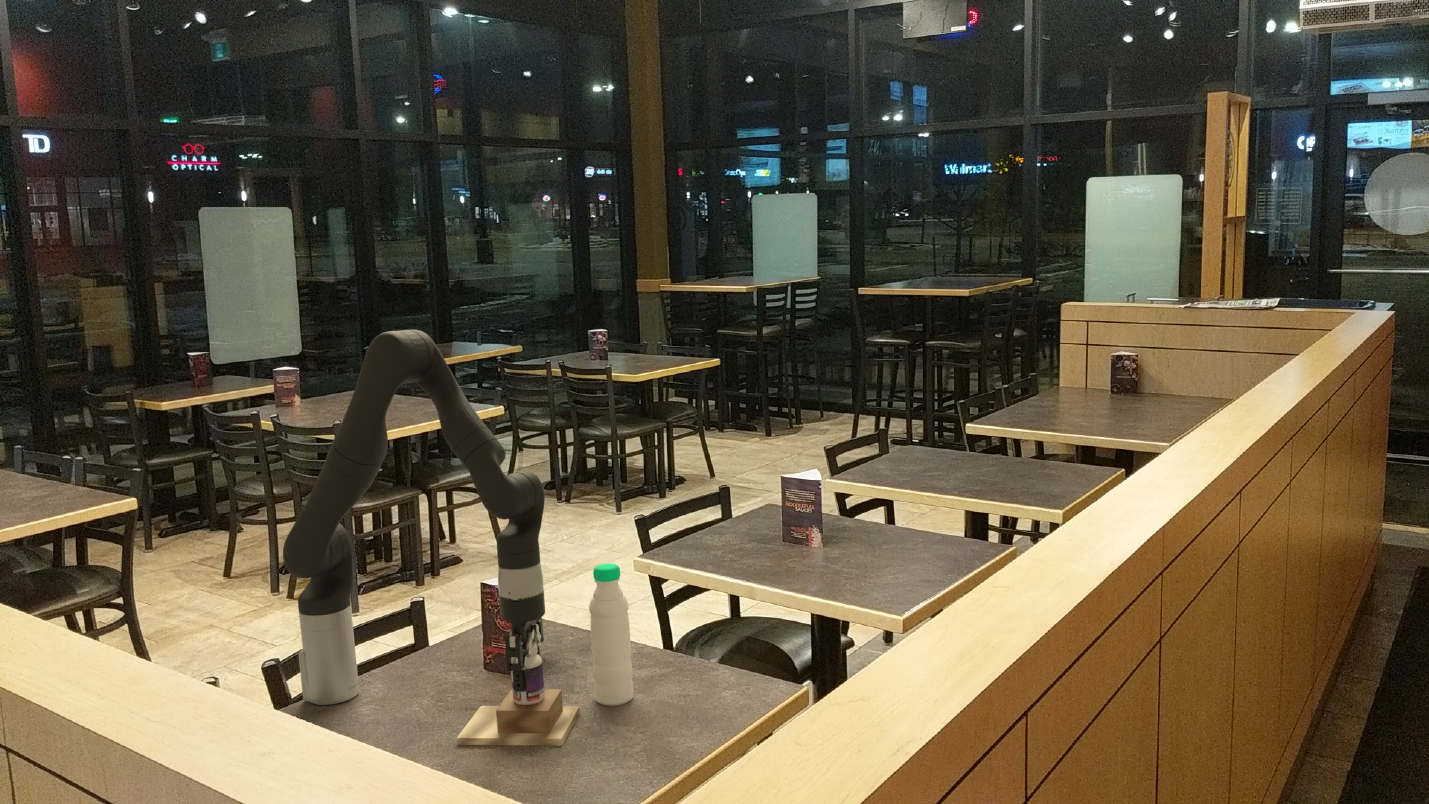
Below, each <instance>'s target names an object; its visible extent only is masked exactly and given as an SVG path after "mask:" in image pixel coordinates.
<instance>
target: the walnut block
mask: <svg viewBox="0 0 1429 804" xmlns="http://www.w3.org/2000/svg"><path fill="white" fill-rule="evenodd" d="M544 690H545V697H544V699H543V700H542V701H541V702H539V703H536V704H532V705H519V704H517V703H515V702H514V700H513V690H512V689H510V691H509V692H508V694H507V695H506V696H505V697H504V699H503V700H502V702H501V703H500V705H498V706H499V707H498V708H497V710H496V717H497V730H498V733H550V732H551V730H552V729H553V727H554V725H555V724H556V722H557V720H558V719H559V717H560V715H561V713H562V712H563V694H562V689H560V688H559V689H558V688H557V689H553V688H552V689H551V688H544Z"/></svg>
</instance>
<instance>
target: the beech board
mask: <svg viewBox="0 0 1429 804" xmlns="http://www.w3.org/2000/svg"><path fill="white" fill-rule="evenodd" d="M499 706H500V705H480V707H479V708H478V709H477V711H476V712H475V713H474V714H473V716H472V717H471V718H470V720H469V721H468V722H467V724H465V726H464V728H463V729H462V730H461V731H460V732H459V734H458V735H457V737H456V745H458V746H461V745H462V746H464V745H465V746H467V745H469V746H545V747H546V746H549V747H550V746H551V747H552V746H553V747H554V746H559V747H560V746H563V745H564V742H565V741H566V739H567V737H568V735H569V733H570V731H571V730H572V728H573V726H574V724H575V723H576V721H577V719H578V717H579V715H580V714H581V710H580V706H579V705H578V706H577V705H575V706H573V705H572V706H570V705H569V706H567V705H566V706H563V712H562V713H561V715H560V717H559V719H558V720H557V722H556V724H555V725H554V727H553V729H552V730H551V732H550V733H498V730H497V717H496V710H497V708H498V707H499Z"/></svg>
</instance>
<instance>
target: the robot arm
mask: <svg viewBox="0 0 1429 804" xmlns="http://www.w3.org/2000/svg"><path fill="white" fill-rule="evenodd" d="M362 361H363V362H362V365H361V368H360V372H359V375H358V378H357V380H356V385H355V387H354V391H353V394H352V397H351V399H350V402H349V404H348V406H347V409H346V411H345V414H344V416H343V419H342V421H341V424H340V425H339V428H338V430H337V432H336V434H335V436H334V439H333V440H332V444H331V446H330V447H329V451H328V452H327V454H326V457H325V460H324V463H323V465H322V467H321V470H320V472H319V474H318V477H317V479H316V480H315V483H314V485H313V487H312V490H311V492H310V495H309V497H308V499H307V501H306V503H305V505H304V506H303V508H302V510H301V512H300V513H299V516H298V517H297V519H296V521H295V522H294V524H293V526H292V527H291V529H290V530H289V532H288V534H287V536H286V538H285V541H284V544H283V548H282V558H283V559H282V560H283V564H284V566H285V567H284V568H286V570H287V571H288V573H289V574H290V575H292V576H294V577H295V578H298V579H309V582H308V583H307V585H306V586H305V588H304V589H303V590H302V592H301V593H300V594H299V595H298V597H297V598H298V599H297V606H298V607H297V608H298V618H299V627H300V636H301V645H302V649H301V650H300V651H299V652H298V661H299V672H300V673H299V674H300V682H301V690H302V701H303V702H308V703H311V704H313V705H317V706H327V705H336V704H340V703H343V702H347V701H349V700H352V699H353V698H355V697H357V695H358V694H359V693H360V685H359V684H360V683H359V676H358V663H357V654H356V646H355V644H356V643H355V634H354V624H353V623H354V622H353V614H352V613H353V612H352V605H351V603H352V602H351V595H352V592H353V589H354V566H353V550H352V543H351V539H350V536H349V533H348V531H347V530H346V528H345V527H344V526H343V525H342V524H341V521H342V520H343V518H344V517H345V516H346V514H347V513H348V512H349V511H350V510H351V509H352V508H353V507H354V506H355V505H356V504H357V502H358V501H359V500H360V499H361V498H362V497H363V495H365V494H366V492H367V491H369V488H370V487H371V486H372V484H373V483H374V481H375V480H376V478H377V475H378V473H379V471H380V469H381V466H382V464H383V463H384V460H385V457H386V455H387V453H388V446H389V439H388V429H387V424H386V423H387V422H386V417H387V412H388V409H389V407H390V405H391V402H392V401H393V398H394V397H395V394H396V392H397V391H398V389H399V387H401V385H405V384H412V383H415V384H416V385H417V386H418V387H420V388H421V389H422V390H423V391H424V392H425V393H426V395H427V396H428V397H429V399H431V401H432V403H433V405H434V406H435V409H436V412H437V415H438V420H439V425H440V428H441V429H440V430H441V432H442V435H443V438H444V440H445V441H446V444H447V445H448V447H449V448H450V449H451V451H452V452H453V453H454V455H455V456H456V457H457V458H458V460H459V461H460V462H461V463H462V465H463V466H464V468H466V470H467V471H468V473H469V474H470V477H471V481H472V483H473V485H474V487H475V490H476V492H477V494H478V497H479V499H480V501H481V503H482V505H483V506H484V508H485V510H486V511H488V513H490V514H491V515H492V516H494V517H495V518H497V519H499V520H503V521H504V520H508V521H507V524H506V527H504V529H502V530H501V531H500V532H499V533H498V535H497V537H496V554H497V556H496V557H497V565H498V567H497V571H498V572H497V586H498V587H497V588H498V600H499V601H498V602H499V611H500V613H499V614H500V618H501V619H502V620H503V621H504V622H508V623H510V624H511V629H510V630H509V635H505V638H504V641H505V643H504V646H505V660H506V671H507V672H511V671H513V685H514V690H515V691H516V692H525V691H526V690H527V689H528V684H527V671H526V668H527V666H526V665H527V658H528V657H530V655H531V647H532V644H533V642H535V643H536V644H537V650H538V651H537V654H538V655H539V656H540V657H541V650H542V643H544V640H545V638H544V637H545V636H544V628H543V617H544V615H545V614H546V604H545V603H546V601H545V600H546V599H545V589H544V577H543V576H544V575H543V570H542V565H541V564H542V563H541V552H540V543H539V541H540V540H539V536H540V531H541V528H542V522H543V516H544V510H545V509H544V508H545V502H546V501H545V499H546V498H545V489H544V486H543V483H542V481H541V479H540V478H539V476H538V475H537V474H535V473H534V472H533V471H530V470H526V469H523V470H518V471H514V472H512V473H508V474H507V475H506V474H505V472H504V471H503V469H502V467H501V466H502V464H504V461H505V459H506V455H507V454H506V450H505V448H504V446H503V445H502V444H501V442H500V441H499V440H498V438H497V437H496V436H495V435H494V434H493V432H492V431H491V430H490V429H489V427H488V426H487V424H486V423H485V422H484V421H483V420H482V419H481V417H480V416H479V414H478V413H477V412H476V411H475V409H474V408H473V406H472V405H471V403H470V402H469V400H468V398H467V396H466V395H465V393H464V392H463V390H462V388H461V386H460V385H459V382H458V381H457V379H456V378H455V375H454V373H452V370H451V368H450V367H449V365H448V363H447V362H446V359H445V358H444V356H443V354H442V352H441V351H440V349H439V347H438V346H437V345H436V343H435V341H434V340H433V339H432V338H431V336H430V335H429V334H427V333H426V332H424V331H423V330H419V329H402V330H390V331H389V330H388V331H384V332H381V333H379V334H378V335H376V336H375V337H374V338H373V339H372V341H371V342H370V344H369V346H368V348H367V350H366V352H365V356H364V358H363V360H362ZM522 650H525V651H522ZM516 658H518V663H515V662H516Z"/></svg>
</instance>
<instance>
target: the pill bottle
mask: <svg viewBox="0 0 1429 804" xmlns="http://www.w3.org/2000/svg"><path fill="white" fill-rule="evenodd" d="M522 651H525V650H522ZM537 651H538V650H537V644H536V643H535V642H533V644H532V647H531V655H530V657H528V658H527V665H526V666H527V668H526V671H527V684H528V689H527V690H526V691H525V692H516V691H515V690H514V685H513V671H510V677H511V688H512V690H513V700H514V702H515V703H517V704H519V705H532V704H536V703H539V702H541V701H542V700H543V699H544V697H545V690H544V689H545V681H544V668H543V666H544V665H543V658H542V656H541V655H540V656H539V655H538V654H537ZM515 663H518V658H516V662H515Z"/></svg>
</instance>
